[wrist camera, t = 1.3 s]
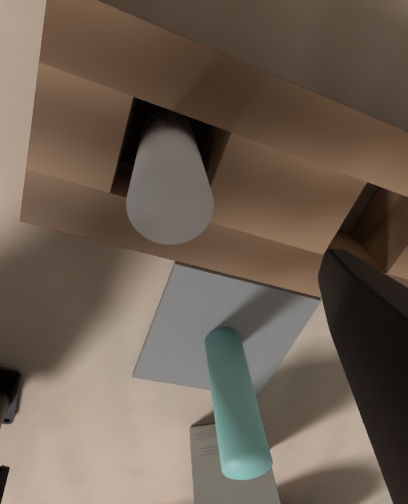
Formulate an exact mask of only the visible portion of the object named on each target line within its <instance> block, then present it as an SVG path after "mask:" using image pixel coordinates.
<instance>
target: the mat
mask: <svg viewBox="0 0 408 504" xmlns="http://www.w3.org/2000/svg"><path fill="white" fill-rule="evenodd" d="M320 302H321V300H320V298H319V297H315V296H311V295H307V294H303V293H299V292H295V291H291V290H287V289H283V288H279V287H275V286H271V285H267V284H263V283H259V282H255V281H252V280H248V279H244V278H240V277H236V276H232V275H228V274H224V273H220V272H216V271H212V270H208V269H204V268H200V267H196V266H192V265H188V264H184V263H180V262H176V261H175V263H174V266H173V268H172V271H171V274H170V276H169V279H168V282H167V284H166V287H165V290H164V292H163V295H162V297H161V300H160V303H159V305H158V308H157V311H156V313H155V316H154V319H153V321H152V324H151V327H150V329H149V332H148V335H147V337H146V340H145V343H144V345H143V348H142V351H141V353H140V356H139V359H138V361H137V364H136V366H135V369H134V372H133V378H139V379H146V380H152V381H158V382H164V383H171V384H177V385H183V386H189V387H196V388H202V389H208V390H211V387H210V379H209V372H208V364H207V356H206V349H205V338H206V336H207V335H208V333H209V332H211V331H212V330H214V329H216V328H220V327H230V328H233V329H235V330H237V331H238V332H239V334H240V336H241V340H242V344H243V348H244V352H245V356H246V360H247V364H248V367H249V371H250V375H251V379H252V383H253V387H254V391H255V395H256V397H259V395H260V394H261V392H262V391H263V389H264V388H265V386H266V385H267V383H268V382H269V380H270V379H271V377H272V375H273V374H274V372H275V371H276V369H277V368H278V366H279V365H280V363H281V362H282V360H283V359H284V357H285V355H286V354H287V352H288V351H289V349H290V348H291V346H292V345H293V343H294V342H295V340H296V338H297V337H298V335H299V334H300V332H301V331H302V329H303V328H304V326H305V325H306V323H307V322H308V320H309V318H310V317H311V315H312V314H313V312H314V311H315V309H316V308H317V306H318V305H319V303H320Z"/></svg>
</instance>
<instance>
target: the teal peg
mask: <svg viewBox="0 0 408 504" xmlns="http://www.w3.org/2000/svg"><path fill="white" fill-rule="evenodd" d="M205 349H206V356H207V364H208V372H209V379H210V387H211V394H212V402H213V410H214V417H215V425H216V432H217V440H218V448H219V455H220V463H221V470H222V473H223V474H224V475H225V476H226V477H228V478H230V479H234V480H248V479H253V478H256V477H259V476H261V475H263V474H264V473H266V472H267V471H268V470H269V469H270V468H271V466H272V463H273V462H272V457H271V453H270V450H269V446H268V442H267V438H266V434H265V430H264V426H263V422H262V418H261V414H260V410H259V407H258V403H257V399H256V395H255V391H254V387H253V383H252V379H251V375H250V371H249V367H248V364H247V360H246V356H245V352H244V348H243V344H242V340H241V336H240V334H239V332H238V331H237V330H235V329H233V328H230V327H220V328H216V329H214V330H212V331H211V332H209V333H208V335H207V336H206V338H205Z"/></svg>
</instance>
